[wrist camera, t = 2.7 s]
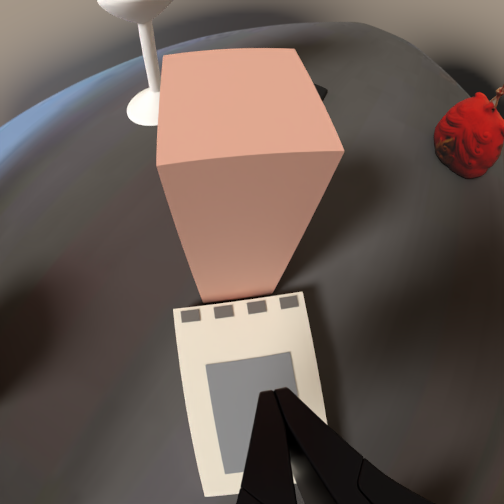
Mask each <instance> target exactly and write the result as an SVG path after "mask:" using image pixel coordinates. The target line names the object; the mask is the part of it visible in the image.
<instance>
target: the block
mask: <svg viewBox="0 0 504 504" xmlns="http://www.w3.org/2000/svg"><path fill="white" fill-rule="evenodd" d="M343 153H344V148H343V146H342V144H341V141H340V139H339V137H338V135H337V132H336V130H335V128H334V126H333V123H332V121H331V119H330V117H329V115H328V113H327V111H326V108H325V106H324V104H323V102H322V100H321V98H320V96H319V94H318V92H317V90H316V88H315V86H314V84H313V82H312V80H311V78H310V76H309V74H308V73H307V71H306V69H305V67H304V65H303V63H302V61H301V60H300V58H299V56H298V54H297V52H296V51H295V49H286V48H241V49H220V50H207V51H196V52H187V53H179V54H171V55H164V56H163V64H162V74H161V85H160V98H159V113H158V132H157V164H156V166H157V169H158V173H159V176H160V179H161V182H162V186H163V189H164V192H165V195H166V198H167V201H168V204H169V207H170V211H171V214H172V217H173V220H174V223H175V226H176V229H177V232H178V234H179V237H180V240H181V243H182V246H183V249H184V252H185V255H186V257H187V260H188V263H189V266H190V269H191V271H192V274H193V277H194V280H195V282H196V285H197V288H198V290H199V293H200V296H201V298H202V301H203V303H210V302H218V301H226V300H233V299H241V298H248V297H255V296H262V295H269V294H272V293H273V291H274V289H275V288H276V286H277V284H278V282H279V280H280V278H281V276H282V274H283V272H284V271H285V269H286V267H287V265H288V263H289V261H290V259H291V257H292V255H293V253H294V251H295V250H296V248H297V246H298V244H299V242H300V240H301V238H302V236H303V234H304V232H305V230H306V228H307V226H308V224H309V222H310V220H311V218H312V216H313V214H314V212H315V210H316V208H317V206H318V204H319V202H320V200H321V198H322V196H323V194H324V192H325V190H326V188H327V186H328V184H329V182H330V180H331V178H332V176H333V174H334V172H335V170H336V168H337V166H338V164H339V162H340V160H341V157H342V155H343Z"/></svg>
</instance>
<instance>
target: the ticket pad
mask: <svg viewBox="0 0 504 504" xmlns="http://www.w3.org/2000/svg"><path fill="white" fill-rule="evenodd" d="M173 312H174V322H175V331H176V339H177V347H178V355H179V363H180V370H181V377H182V383H183V390H184V396H185V402H186V408H187V414H188V420H189V425H190V431H191V436H192V441H193V446H194V451H195V456H196V460H197V465H198V470H199V474H200V478H201V483H202V487H203V491H204V495H205V497H209V496H220V495H230V494H238V493H239V490H240V488H241V487H240V486H241V481H242V477H243V472H244V467H245V462H246V458H247V453H248V448H249V443H250V438H251V433H252V428H253V423H254V418H255V412H256V407H257V402H258V397H259V393H260V392H261V391H266V390H273V391H274V390H275V389H277V388H282V387H288V388H289V389H290V390H291V391H292V392H293V393H294V394H295V395H296V396H297V397H298V398H299V399H300V400H301V401H303V402H304V403H305V404H306V405H307V406H308V407H309V408H310V409H311V410H312V411H313V412H314V413H315V414H316V415H317V416H318V417H319V418H321V419H322V420H323V421H324V422H325V423H326V424H327V419H326V413H325V407H324V401H323V395H322V390H321V384H320V378H319V373H318V367H317V362H316V357H315V351H314V346H313V341H312V336H311V331H310V326H309V321H308V316H307V311H306V306H305V301H304V296H303V291H302V292H296V293H290V294H283V295H275V296H269V297H262V298H256V299H249V300H242V301H235V302H227V303H220V304H210V305H202V306H196V307H187V308H179V309H173ZM293 480H294V484H295V483H296V481H295V478H294V476H293Z"/></svg>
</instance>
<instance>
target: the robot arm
mask: <svg viewBox="0 0 504 504" xmlns="http://www.w3.org/2000/svg"><path fill="white" fill-rule="evenodd" d="M293 476H294V478H295V481H296V483H297V486H298V488H299V490H300V493H301V495H302V498H303V500H304V502H305V504H435V503H433V502H431V501H429V500H427V499H425V498H423V497H421V496H420V495H418V494H416V493H414V492H412V491H411V490H409V489H407V488H406V487H404V486H402V485H400V484H399V483H397V482H396V481H394V480H393V479H391V478H390V477H388V476H387V475H385V474H384V473H383V472H381V471H380V470H379V469H377V468H376V467H375V466H374V465H372V464H371V463H370V462H369V461H368V460H367V459H365V458H364V459H363V456H362V455H361V454H359V453H358V452H357V451H356V450H355V449H354V448H353V447H351V446H350V445H349V444H348V443H347V442H346V441H345V440H344V439H342V438H341V437H340V436H339V435H338V434H337V433H336V432H335V431H334V430H332V429H331V428H330V427H329V426H328V425H327V424H326V423H325V422H324V421H323V420H322V419H321V418H319V417H318V416H317V415H316V414H315V413H314V412H313V411H312V410H311V409H310V408H309V407H308V406H307V405H306V404H305V403H304V402H303V401H301V400H300V399H299V398H298V397H297V396H296V395H295V394H294V393H293V392H292V391H291V390H290V389H289V388H288V387H282V388H277V389H275V390H274V391H273V390H266V391H261V392H260V393H259V397H258V402H257V407H256V412H255V418H254V423H253V428H252V433H251V438H250V443H249V448H248V453H247V458H246V462H245V467H244V472H243V477H242V481H241V486H240V487H241V488H240V490H239V494H238V499H237V503H236V504H297V500H296V493H295V486H294V480H293Z"/></svg>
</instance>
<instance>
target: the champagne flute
mask: <svg viewBox="0 0 504 504" xmlns="http://www.w3.org/2000/svg"><path fill="white" fill-rule="evenodd" d="M172 1H173V0H97V2H98V4H99V5H100V6H101V7H102V8H103V9H104V10H106V11H107V12H109V13H110V14H112V15H114V16H117V17H119V18H121V19H124V20H126V21H129V22H133V23H138V28H139V35H140V40H141V46H142V51H143V57H144V62H145V67H146V72H147V77H148V82H149V87H150V88H147V89H145V90H143V91H141V92H140V93H138V94H137V95H136V96H135V97H134V98H133V99H132V100H131V101H130V103H129V104H128V107H127V115H128V117H129V118H130V120H132V121H133V122H135V123H137V124H140V125H145V126H154V125H158V113H159V98H160V85H161V78H160V72H159V66H158V59H157V53H156V47H155V40H154V33H153V26H152V19H154V18H155V17H156V16H158V15H159V14H160V13H161V12H162V11H163V10H164V9H165V8H166V7H167V6H168V5H169V4H170V3H171V2H172Z"/></svg>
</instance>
